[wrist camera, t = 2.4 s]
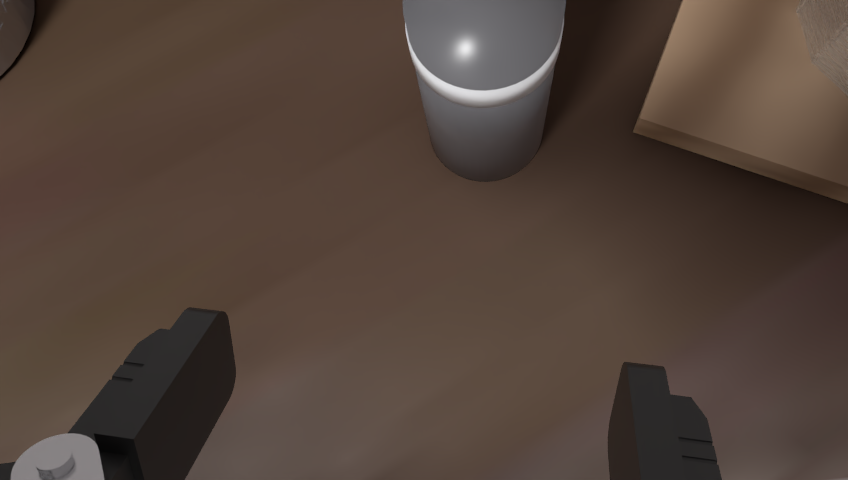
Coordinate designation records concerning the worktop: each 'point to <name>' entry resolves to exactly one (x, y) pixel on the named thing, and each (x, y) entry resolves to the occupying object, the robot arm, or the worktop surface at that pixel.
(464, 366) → the worktop surface
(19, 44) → the robot arm
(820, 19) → the notched white ring
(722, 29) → the mount board
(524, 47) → the grey cylinder
